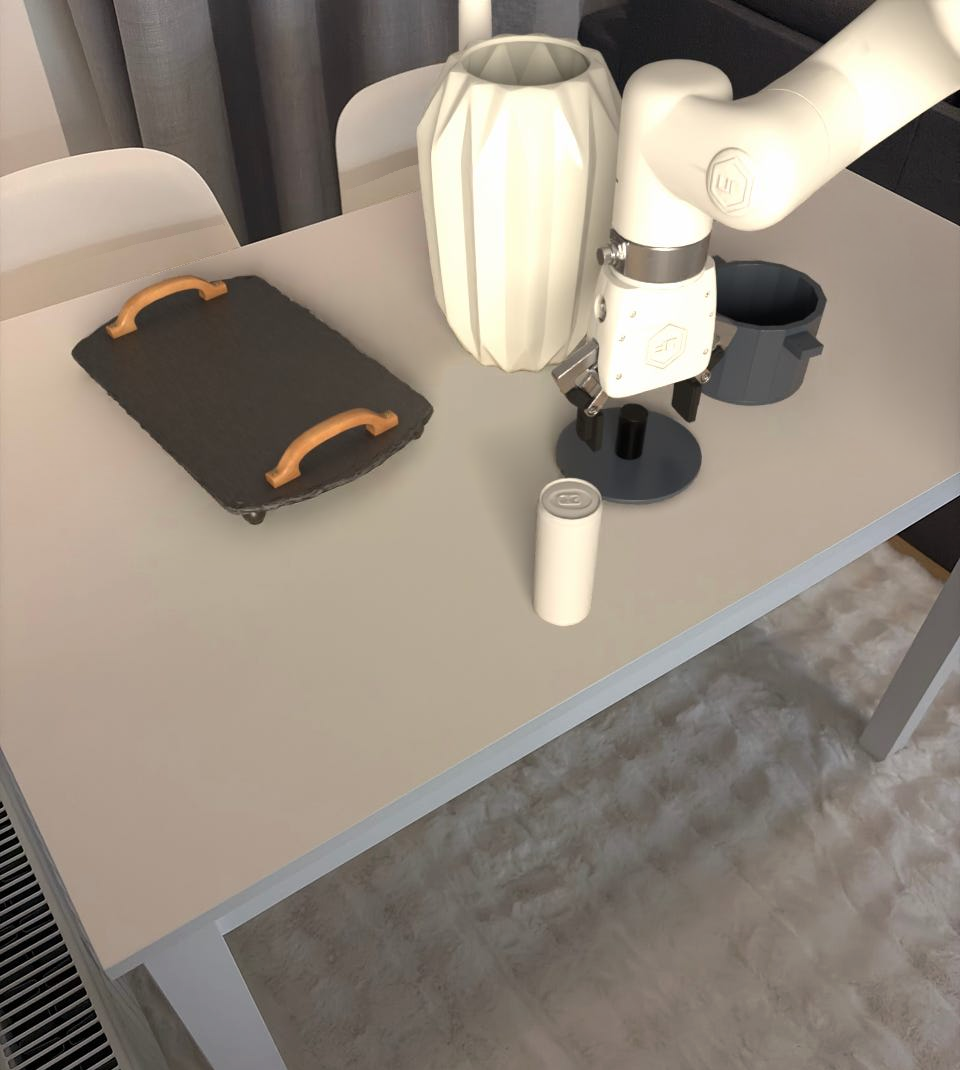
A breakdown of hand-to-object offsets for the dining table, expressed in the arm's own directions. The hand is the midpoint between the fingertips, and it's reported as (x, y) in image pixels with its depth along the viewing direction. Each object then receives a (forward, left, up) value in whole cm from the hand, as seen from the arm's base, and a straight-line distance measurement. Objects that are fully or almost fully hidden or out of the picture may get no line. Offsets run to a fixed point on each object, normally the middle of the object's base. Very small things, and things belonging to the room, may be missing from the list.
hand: (636, 428), depth 86 cm
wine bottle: (-2, -40, -4) cm, 41 cm away
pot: (-18, -8, -4) cm, 20 cm away
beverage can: (+14, +14, -4) cm, 20 cm away
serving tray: (+30, -24, -4) cm, 39 cm away
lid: (0, 0, -3) cm, 3 cm away
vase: (+1, -22, -4) cm, 23 cm away
